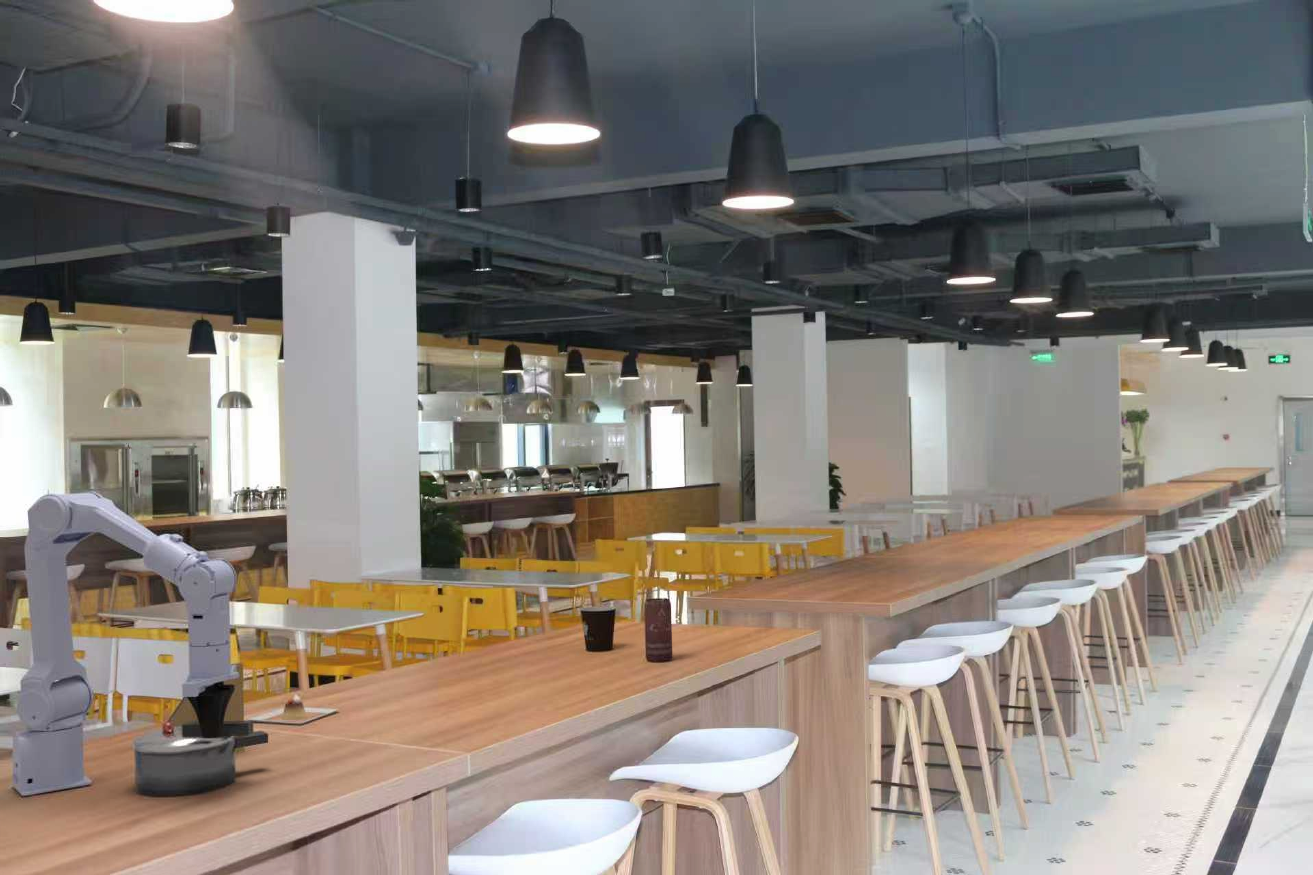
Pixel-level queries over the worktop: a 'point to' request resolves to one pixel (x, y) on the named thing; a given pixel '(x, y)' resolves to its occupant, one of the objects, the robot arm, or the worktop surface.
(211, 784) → the cooker pot
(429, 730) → the worktop surface
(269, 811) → the worktop surface
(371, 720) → the worktop surface
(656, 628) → the can
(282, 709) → the dessert
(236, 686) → the sandwich container
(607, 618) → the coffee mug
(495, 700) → the worktop surface
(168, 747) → the cooker lid
